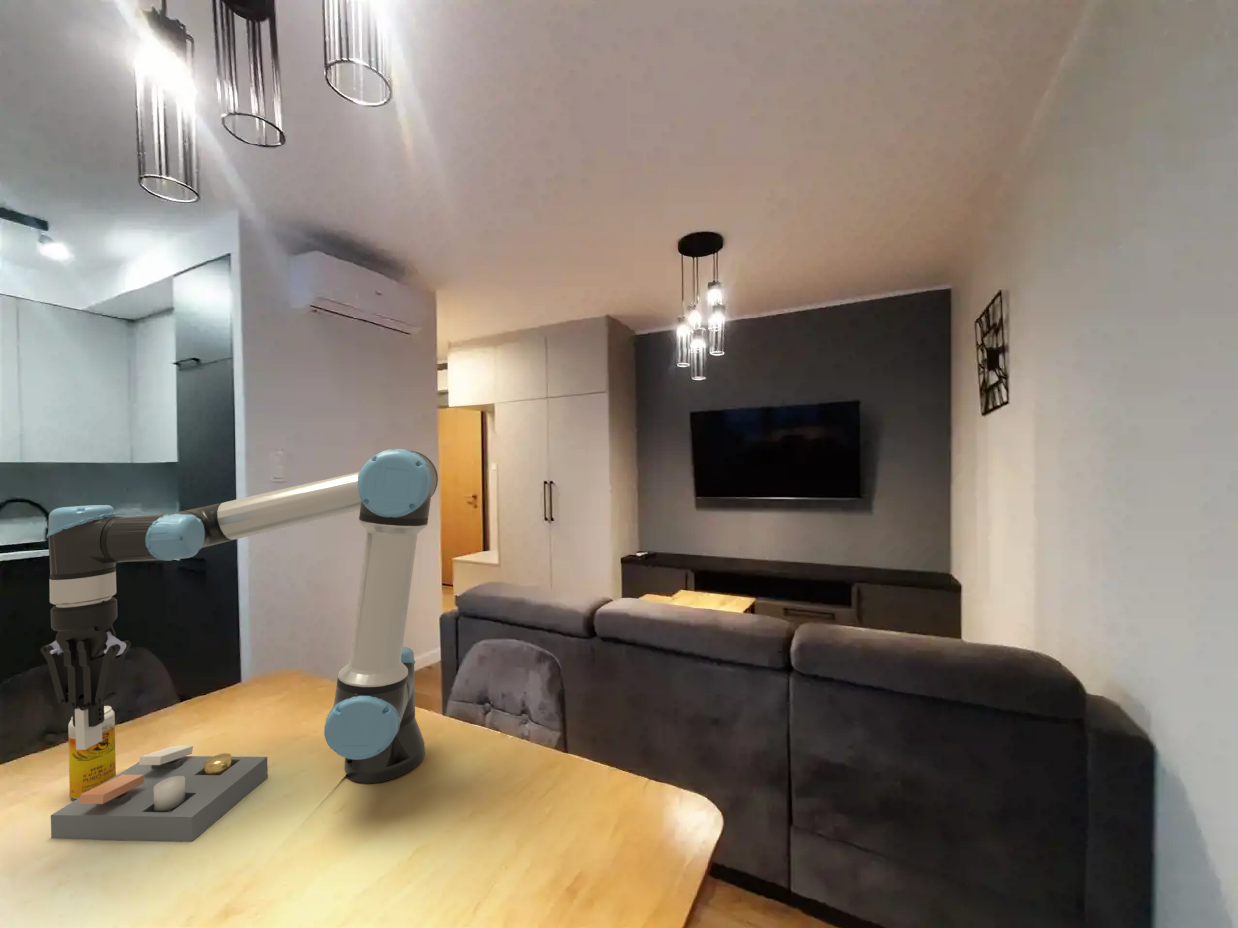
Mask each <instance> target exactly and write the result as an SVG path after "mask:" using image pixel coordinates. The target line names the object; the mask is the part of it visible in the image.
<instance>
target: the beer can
mask: <svg viewBox="0 0 1238 928" xmlns="http://www.w3.org/2000/svg"><path fill="white" fill-rule="evenodd" d="M115 715H116V714H115V711H114V710H113V709H112V706H110V705H104V722H103V723H102V741H101V742H99V743H97V744H95V745H93V746H91V747H89V748H87V749H85V750H76V733H75V727H74V726H73V717H72V716H71V719H70V721H69V722H68V726H67V728H68V768H69V769H68V775H69V797H70V798H72V799H74V800H75V799H78V798H80V794H82V793H85V792H87V791H89V790H91V789H93V788H95V787H97V786H99V785H101V784H103V783H105V782H106V781H108V780H110V779H111V778H113V777H115V776H116V775H117V773H116V771H117V770H116V769H117V767H116V765H117V764H116V761H117V760H116V722H115V721H116V719H115Z"/></svg>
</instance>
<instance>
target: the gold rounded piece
mask: <svg viewBox="0 0 1238 928" xmlns="http://www.w3.org/2000/svg"><path fill="white" fill-rule="evenodd" d="M212 756H213V755H212ZM231 756H232V754H230V753H219V754H217V755H214V756H213V757H211V758H209V759H208V760H206V761H205V763H204V771H205V775H221V774H223V773H224V772H225V771H227V770H228V769H229V768H230V767H231Z"/></svg>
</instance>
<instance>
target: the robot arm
mask: <svg viewBox="0 0 1238 928" xmlns="http://www.w3.org/2000/svg"><path fill="white" fill-rule="evenodd" d="M438 482H439V475H438V471H437V469H436V466H435V465H434V463H433V462H432V460H430V459H429V457H427V456H426V455H424V453H423V454H422V453H420V452H418V451H414V450H409V449H404V448H391V449H386V450H383V451H381V452H379V453H377V454H375V455H374V456H372V457H370V458H369V459H368V460H367V461H366V462H365V463H364V465H363V466H362V468H360V470H359V471H357V472H356V471H355V472H352V473H349V474H344V475H339V476H334V477H331V478H327V479H325V478H324V479H322V480H317V481H312V482H309V483H305V484H299V485H293V486H291V487H285V488H281V489H277V490H273V491H268V492H264V493H259V494H254V495H250V496H247V497H243V498H237V499H234V500H233V499H232V500H229V501H225V502H220V503H216V504H215V503H214V504H210V505H206V506H202V507H197V508H192V509H188V510H187V509H186V510H181V511H174V512H167V513H162V514H154V515H137V516H116V513H115V509H114V507H113V505H112V506H111V505H109V504H105V505H104V504H103V505H102V504H100V505H99V504H97V505H96V504H95V505H94V504H92V505H79V506H77V505H75V506H64V507H58V508H55V509H52V511H51V512H50V513H49V514H48V527H47V528H48V529H47V530H48V531H47V534H46V538H47V545H48V557H49V571H50V573H49V603H50V604H52V605H54V606H52V608H51V609H50V627H51V630H53V631H55V632H57V634H56V635H55V640H54V641H52V642H51V643H50V644H46V645H44V646H41V648H40V653H41V655H42V656H43V657H44V658H45V660H46V663H47V666H48V669H49V673H50V677H51V680H52V684H53V689H54V693H55V695H56V696H55V697H56V699H57V700H56V701H57V703H58V704H59V705H62V706H63V705H65V704H66V705H68V707H69V708H70V709H71V711H72V712H71V713H72V714H71V715H72V716H71V717H73V726H74V727H75V733H76V750H85V749H87V748H89V747H91V746H93V745H95V744H97V743H99V742H101V741H102V723H103V722H104V706H105V703H106V702H108V701H110V700H112V699H114V698H116V697H117V696H118V692H119V687H120V681H121V678H122V672H123V667H124V663H125V658H126V657H125V656H126V654H127V652H128V651H129V649H130V647H131V645H132V642H131V641H130V640H128V639H127V640H123V641H121V640H120V639H119V638H117V637H116V631H115V629H114V626H113V624H114V622H115V620H117V619H118V599H117V598H116V597H114V595H116V594H117V564H118V563H119V564H120V563H127V562H129V563H130V562H148V561H149V562H151V561H164V562H165V561H167V562H168V561H169V562H171V561H174V560H180V559H181V560H182V559H190V558H193V557H195V556H196V555H197V554H198V553H199V551H200V550H201V549H203V548H207V547H211V546H215V545H218V544H222V543H223V544H224V543H226V542H230V541H234V540H239V539H243V538H246V537H250V536H255V535H259V534H264V533H268V532H271V531H275V530H276V531H277V530H281V529H285V528H289V527H293V526H297V525H300V524H306V523H310V522H314V521H319V520H322V519H327V518H331V517H336V516H339V515H343V514H348V513H351V512H353V513H354V512H356V511H359V517H358V522H359V523H360V525H362V527H364V529H365V531H366V533H365V534H366V535H365V542H364V549H363V558H362V565H361V572H360V578H359V588H358V595H357V602H356V610H355V617H354V625H353V632H352V640H351V646H350V654H349V655H350V656H349V662H348V663H347V664H345V666H342V668H341V669H340V670H339V671H338V674H337V681H336V686H335V687H336V688H335V695H334V701H333V702H334V703H333V706H332V708H331V709H330V710H329V713H328V714H327V717H326V719H325V724H324V729H323V735H324V739H325V741H326V744H327V746H328V747H329V748H330V749H331V750H332V751H333V752H335V754H337V755H338V756H340V757H342V758H344V771H345V776H346V778H347V779H349V780H351V781H352V782H355V783H361V784H373V783H374V784H376V783H380V782H381V783H383V782H386V781H389V780H390V781H391V780H393V779H397V778H398V777H401V776H402V775H405V774H407V773H409V772H411V771H412V770H414V769H415V768H416V767H417V766H419V764H420V763H421V762H422V761H423V759H424V758H425V754H426V753H425V740H424V737H423V734H422V732H421V729H420V727H419V723H418V721H417V719H416V697H415V695H416V694H415V691H416V690H415V687H416V686H415V685H416V684H415V664H416V660H415V654H414V653H415V652H414V651H413V649H412V648H410V647H407V646H404V639H405V632H406V631H405V630H406V623H407V617H408V616H407V615H408V608H409V602H410V594H411V588H412V587H411V585H412V580H413V579H412V578H413V571H414V563H415V562H414V561H415V554H416V548H417V540H418V534H419V533H420V532H421V531H422V530H424V529H425V528H426V527H428V523H429V522H428V521H429V516H430V507H431V501H432V497H433V496H434V495H435V492H436V490H437V488H438Z"/></svg>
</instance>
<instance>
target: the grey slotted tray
mask: <svg viewBox="0 0 1238 928" xmlns="http://www.w3.org/2000/svg"><path fill="white" fill-rule="evenodd" d="M211 757H213V755H211V756H210V755H209V756H207V755H202V756H201V755H197V756H196V755H187V756H184V757H181V758H179V759H176V760H173V761H170V762H167V763H164V764H161V765H139V761H138V762H136V763H134V764H133V765H131V766H130V767H128V768H126V769H125V770H124V771H121V772H120V773H118V774H116V776H115V777H113V778H111V779H110V780H112V779H114V778H116V777H119V776H121V775H144V783H143V784H141V785H139V786H137V787H135V788H133V789H131V790H129V791H127V792H125V793H123V794H121V795H119V796H117V797H115V798H113V799H111V800H110V801H108V802H106V803H104V804H79V801H80V798H78V799H77V800H75V799H74V801H72V802H70V803H68V804H67V805H65V806H63V807H62V808H60V809H59V810H56V811H55V812H53V813H52V814H50V839H57V840H58V839H61V840H66V839H67V840H90V841H92V840H93V841H131V842H133V841H135V842H137V841H138V842H139V841H140V842H141V841H142V842H146V841H147V842H194V841H195V840H196V839H197V838H198V837H200V836H201V835H202V834H203V833H204V832H205V831H207V830H208V829H209V828H210V827H211V826H212V825H214V824H215V822H217V821H218V820H219V819H220V818H222V817H223V816H224V815H225V814H226V813H227V812H229V811H230V810H231V809H232V808H233V807H235V806H236V805H237V804H238V803H240V801H242V800H243V799H244V798H245V797H247V796H248V795H249V794H250V793H251V792H252V791H253V790H254V789H256V788H257V787H258V786H259V785H261V784H262V783H263V781H266V780H267V779H268V776H269V775H268V756H232V755H231V767H230V768H229V769H228V770H227V771H225V772H224V773H223V774H221V775H205V771H204V763H205V761H206V760H208V759H209V758H211ZM173 776H184V777H185V800H184V802H183V803H181V804H180V805H178V806H176V807H174V808H172V809H169V810H166V811H155V810H154V786H155V785H156V784H157V783H159V782H160V781H162V780H164V779H167V778H170V777H173ZM110 780H108V781H110ZM108 781H106V782H108ZM106 782H105V783H106ZM103 784H104V783H103ZM101 785H102V784H101Z"/></svg>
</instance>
